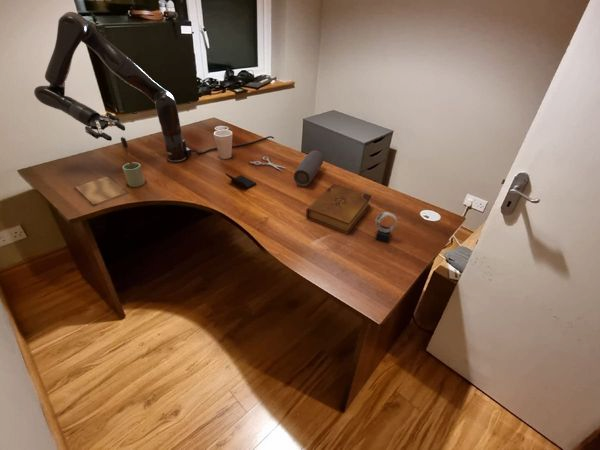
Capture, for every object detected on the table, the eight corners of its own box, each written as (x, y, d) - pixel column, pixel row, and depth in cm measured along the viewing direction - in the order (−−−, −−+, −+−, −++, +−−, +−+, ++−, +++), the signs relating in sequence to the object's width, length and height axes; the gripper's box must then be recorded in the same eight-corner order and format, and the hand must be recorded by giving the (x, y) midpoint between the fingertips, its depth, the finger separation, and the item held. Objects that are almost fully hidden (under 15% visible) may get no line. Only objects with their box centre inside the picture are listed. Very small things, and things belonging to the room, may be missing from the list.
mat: (107, 177, 156) (107, 176, 156) (126, 193, 146) (126, 192, 145) (75, 188, 148) (75, 186, 148) (93, 205, 137) (93, 204, 137)
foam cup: (238, 155, 179) (235, 132, 171) (226, 161, 173) (223, 138, 165) (225, 150, 183) (222, 128, 175) (213, 156, 177) (209, 133, 169)
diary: (331, 194, 151) (332, 183, 147) (369, 206, 143) (371, 195, 140) (305, 218, 135) (306, 207, 131) (347, 234, 127) (349, 222, 124)
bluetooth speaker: (311, 190, 153) (312, 170, 147) (292, 186, 155) (292, 167, 149) (324, 168, 170) (325, 150, 164) (307, 165, 172) (307, 147, 166)
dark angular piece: (258, 179, 156) (247, 168, 147) (252, 192, 154) (241, 183, 146) (240, 175, 161) (228, 165, 153) (234, 188, 160) (222, 179, 151)
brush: (137, 181, 153) (123, 135, 140) (139, 182, 152) (125, 137, 139) (133, 182, 152) (119, 136, 139) (135, 183, 151) (121, 138, 138)
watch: (373, 230, 130) (378, 207, 123) (394, 235, 128) (400, 212, 121) (370, 238, 126) (375, 215, 119) (391, 244, 124) (398, 220, 117)
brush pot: (140, 177, 157) (135, 160, 151) (148, 183, 153) (143, 166, 147) (125, 183, 152) (119, 165, 147) (132, 189, 148) (127, 171, 143)
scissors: (263, 155, 179) (292, 165, 169) (263, 156, 179) (292, 167, 170) (249, 162, 172) (279, 173, 162) (249, 163, 172) (279, 174, 163)
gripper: (70, 115, 136) (105, 136, 137) (95, 100, 145) (128, 119, 146) (72, 129, 142) (107, 148, 143) (97, 113, 151) (129, 131, 152)
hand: (118, 133), depth 145 cm, fingers open, 8 cm apart
